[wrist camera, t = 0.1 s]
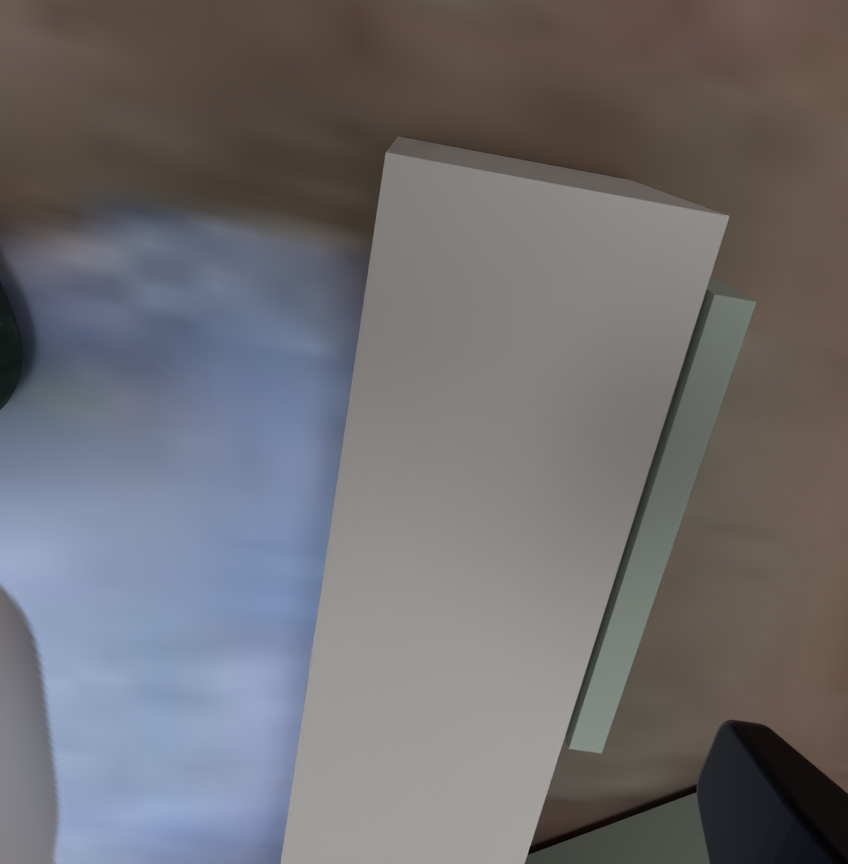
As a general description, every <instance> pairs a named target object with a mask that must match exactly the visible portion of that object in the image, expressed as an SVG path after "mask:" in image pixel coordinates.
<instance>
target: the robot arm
mask: <svg viewBox="0 0 848 864" xmlns="http://www.w3.org/2000/svg"><path fill="white" fill-rule="evenodd" d="M697 803H698V808H699V813H700V818H701V824H702V829H703V834H704V839H705V844H706V849H707V854H708V860H709V864H848V793H846V792H845V791H844V790H843V789H842V788H841V787H839V786H838V785H837V784H836V783H835V782H833V781H832V780H831V779H830V778H829V777H827V776H826V775H825V774H824V773H823V772H821V771H820V770H819V769H818V768H817V767H815V766H814V765H813V764H812V763H811V762H809V761H808V760H807V759H806V758H805V757H803V756H802V755H801V754H800V753H799V752H797V751H796V750H795V749H794V748H793V747H792V746H790V745H789V744H788V743H787V742H786V741H784V740H783V739H782V738H781V737H780V736H778V735H777V734H776V733H775V732H774V731H772V730H771V729H770V728H768V727H767V726H765V725H762V724H758V723H752V722H745V721H737V720H728V721H725V722H724V723H723V724H722V725H721V726H720V727H719V729H718V731H717V733H716V736H715V738H714V741H713V743H712V745H711V748H710V750H709V753H708V755H707V757H706V760H705V762H704V765H703V767H702V770H701V772H700V774H699V778H698V782H697Z"/></svg>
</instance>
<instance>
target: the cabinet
mask: <svg viewBox="0 0 848 864" xmlns="http://www.w3.org/2000/svg"><path fill="white" fill-rule="evenodd" d="M728 219H729V216H728V215H725V214H722V213H719V212H717V211H714V210H711V209H708V208H706V207H703V206H700V205H698V204H695V203H692V202H689V201H687V200H684V199H681V198H678V197H676V196H673V195H670V194H668V193H665V192H662V191H659V190H657V189H654V188H651V187H648V186H646V185H643V184H640V183H637V182H635V181H632V180H628V179H623V178H617V177H612V176H607V175H601V174H596V173H590V172H585V171H580V170H574V169H569V168H564V167H558V166H553V165H548V164H542V163H537V162H532V161H526V160H521V159H516V158H510V157H505V156H500V155H494V154H489V153H484V152H478V151H473V150H468V149H462V148H457V147H451V146H446V145H441V144H435V143H430V142H425V141H419V140H414V139H409V138H403V137H397V139H396V140H395V141H394V143H393V144H392V145H391V146H390V148H389V149H388V150H387V151H386V154H385V161H384V167H383V174H382V181H381V188H380V195H379V201H378V208H377V215H376V222H375V228H374V235H373V242H372V249H371V255H370V262H369V269H368V276H367V282H366V289H365V296H364V303H363V309H362V316H361V323H360V330H359V336H358V343H357V350H356V357H355V363H354V370H353V377H352V384H351V390H350V397H349V404H348V411H347V418H346V424H345V431H344V438H343V445H342V451H341V458H340V465H339V472H338V478H337V485H336V492H335V499H334V505H333V512H332V519H331V526H330V532H329V539H328V546H327V553H326V559H325V566H324V573H323V580H322V586H321V593H320V600H319V607H318V614H317V620H316V627H315V634H314V641H313V647H312V654H311V661H310V668H309V674H308V681H307V688H306V695H305V701H304V708H303V715H302V722H301V728H300V735H299V742H298V749H297V755H296V762H295V769H294V776H293V782H292V789H291V796H290V803H289V810H288V816H287V823H286V830H285V837H284V843H283V850H282V857H281V864H525V861H526V858H527V855H528V852H529V848H530V845H531V842H532V839H533V836H534V833H535V829H536V826H537V823H538V820H539V817H540V814H541V811H542V807H543V804H544V801H545V798H546V795H547V792H548V788H549V785H550V782H551V779H552V776H553V773H554V769H555V766H556V763H557V760H558V757H559V754H560V750H561V747H562V744H563V741H564V738H565V735H566V739H567V743H568V747H569V749H574V750H581V751H588V752H596V753H602V751H603V748H604V745H605V742H606V739H607V736H608V733H609V730H610V728H611V725H612V722H613V719H614V716H615V713H616V710H617V707H618V704H619V701H620V698H621V696H622V693H623V690H624V687H625V684H626V681H627V678H628V675H629V672H630V669H631V666H632V664H633V661H634V658H635V655H636V652H637V649H638V646H639V643H640V640H641V637H642V634H643V631H644V629H645V626H646V623H647V620H648V617H649V614H650V611H651V608H652V605H653V602H654V599H655V597H656V594H657V591H658V588H659V585H660V582H661V579H662V576H663V573H664V570H665V567H666V564H667V562H668V559H669V556H670V553H671V550H672V547H673V544H674V541H675V538H676V535H677V532H678V530H679V527H680V524H681V521H682V518H683V515H684V512H685V509H686V506H687V503H688V500H689V497H690V495H691V492H692V489H693V486H694V483H695V480H696V477H697V474H698V471H699V468H700V465H701V463H702V460H703V457H704V454H705V451H706V448H707V445H708V442H709V439H710V436H711V433H712V430H713V428H714V425H715V422H716V419H717V416H718V413H719V410H720V407H721V404H722V401H723V398H724V396H725V393H726V390H727V387H728V384H729V381H730V378H731V375H732V372H733V369H734V366H735V364H736V361H737V358H738V355H739V352H740V349H741V346H742V343H743V340H744V337H745V334H746V331H747V329H748V326H749V323H750V320H751V317H752V314H753V311H754V308H755V305H756V301H754V300H753V299H751V298H749V297H747V296H746V295H744V294H742V293H741V292H739V291H737V290H736V289H734V288H732V287H731V286H729V285H727V284H726V283H724V282H722V281H721V280H719V279H717V278H715V277H714V276H712V275H711V273H712V270H713V267H714V264H715V261H716V257H717V254H718V251H719V248H720V245H721V242H722V238H723V235H724V232H725V229H726V226H727V223H728Z"/></svg>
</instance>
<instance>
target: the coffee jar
mask: <svg viewBox="0 0 848 864" xmlns="http://www.w3.org/2000/svg"><path fill="white" fill-rule="evenodd" d="M21 366H22V348H21V339H20V334H19V330H18V327H17V324H16V320H15V317H14V314H13V312H12V309H11V306H10V303H9V301H8V298H7V296H6V294H5V292H4V289H3V287H2V285H1V283H0V410H1V409H2V408H3V406H4V405H5V404H6V403H7V402H8V400H9V399H10V397H11V395H12V394H13V392H14V390H15V388H16V386H17V384H18V381H19V378H20V374H21Z"/></svg>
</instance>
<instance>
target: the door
mask: <svg viewBox="0 0 848 864" xmlns="http://www.w3.org/2000/svg"><path fill="white" fill-rule="evenodd" d="M525 864H709V860H708V854H707V849H706V844H705V839H704V834H703V829H702V824H701V818H700V813H699V808H698V803H697V792H696V793H693V794H691V795H688V796H685V797H683V798H680V799H677V800H675V801H672V802H669V803H667V804H664V805H661V806H658V807H656V808H653V809H650V810H648V811H645V812H642V813H640V814H637V815H634V816H632V817H629V818H626V819H623V820H621V821H618V822H615V823H613V824H610V825H607V826H605V827H602V828H599V829H596V830H594V831H591V832H588V833H586V834H583V835H580V836H578V837H575V838H572V839H570V840H567V841H564V842H561V843H559V844H556V845H553V846H551V847H548V848H545V849H543V850H540V851H537V852H535V853H532V854H529V855H527V858H526V861H525Z"/></svg>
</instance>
